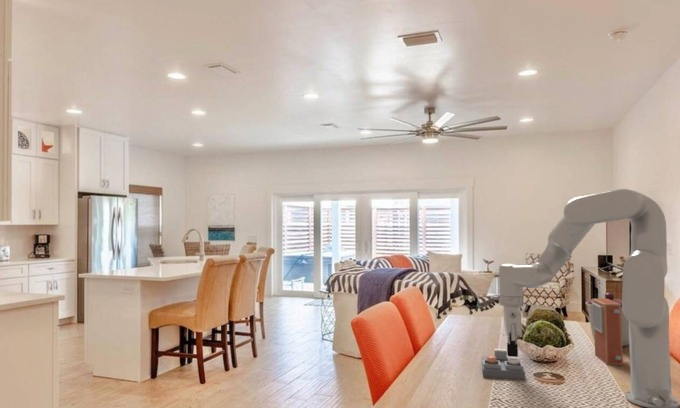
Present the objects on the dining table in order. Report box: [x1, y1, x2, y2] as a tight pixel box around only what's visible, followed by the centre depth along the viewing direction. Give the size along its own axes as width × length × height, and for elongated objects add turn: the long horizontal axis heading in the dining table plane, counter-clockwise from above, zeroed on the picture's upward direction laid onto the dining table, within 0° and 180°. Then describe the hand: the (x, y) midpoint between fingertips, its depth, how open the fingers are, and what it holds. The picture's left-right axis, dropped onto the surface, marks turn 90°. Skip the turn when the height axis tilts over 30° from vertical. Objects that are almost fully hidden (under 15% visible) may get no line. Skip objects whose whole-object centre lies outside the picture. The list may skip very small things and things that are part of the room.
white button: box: [508, 356, 520, 364], centre depth 156 cm, size 3×3×2 cm
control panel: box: [592, 298, 624, 366], centre depth 172 cm, size 21×7×15 cm
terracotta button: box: [486, 355, 497, 363], centre depth 158 cm, size 3×3×2 cm
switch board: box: [481, 354, 526, 381], centre depth 160 cm, size 15×13×4 cm
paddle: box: [493, 348, 508, 360], centre depth 166 cm, size 2×4×3 cm, turn 75°
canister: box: [585, 292, 629, 347], centre depth 195 cm, size 18×18×21 cm
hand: (512, 355), depth 156 cm, fingers closed
